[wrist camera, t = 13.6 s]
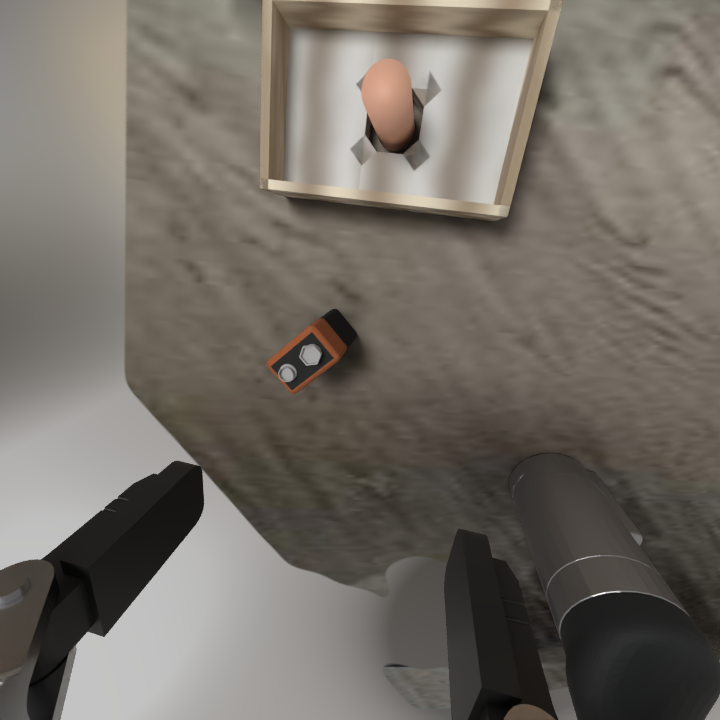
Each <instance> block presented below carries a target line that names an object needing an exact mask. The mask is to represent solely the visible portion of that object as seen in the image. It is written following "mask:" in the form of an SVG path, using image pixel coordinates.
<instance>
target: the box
mask: <svg viewBox="0 0 720 720" xmlns="http://www.w3.org/2000/svg"><path fill="white" fill-rule="evenodd" d="M562 3H563V0H262V75H261V150H260V188H261V189H264V190H267V191H270V192H273V193H276V194H279V195H282V196H285V197H292V198H301V199H309V200H318V201H326V202H334V203H343V204H351V205H360V206H368V207H377V208H385V209H394V210H402V211H411V212H419V213H427V214H436V215H444V216H453V217H461V218H470V219H478V220H487V221H496V220H499V219H502V218H506V217H508V213H509V209H510V206H511V202H512V198H513V194H514V190H515V186H516V182H517V178H518V174H519V171H520V167H521V163H522V159H523V155H524V151H525V147H526V143H527V139H528V135H529V132H530V128H531V124H532V120H533V116H534V112H535V108H536V104H537V100H538V97H539V93H540V89H541V85H542V81H543V77H544V73H545V69H546V65H547V61H548V58H549V54H550V50H551V46H552V42H553V38H554V34H555V30H556V26H557V23H558V19H559V15H560V11H561V7H562ZM383 59H394V60H397V61H399V62H400V63H402V64H403V65H404V66H405V68H406V69H407V71H408V73H409V75H410V79H411V86H412V98H413V100H414V102H415V103H416V105H417V107H418V108H419V110H420V111H421V113H422V114H423V117H422V123H421V130H420V136H419V140H418V141H417V142H416V143H414V144H413V145H412V146H411V147H410V148H409V149H408V150H407V151H406V152H404V153H403V154H396V153H385V152H376V150H375V149H374V147H373V146H372V144H371V143H370V141H369V138H370V129H371V120H370V118H369V116H368V113H367V111H366V109H365V106H364V104H363V101H362V95H361V88H362V83H363V79H364V77H365V75H366V73H367V71H368V70H369V69H370V67H371V66H372V65H373V64H375V63H376V62H378V61H380V60H383Z"/></svg>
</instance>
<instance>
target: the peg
mask: <svg viewBox="0 0 720 720" xmlns="http://www.w3.org/2000/svg"><path fill="white" fill-rule="evenodd" d="M361 95H362V101H363V104H364V106H365V109H366V111H367V113H368V116H369V118H370V120H371V122H372V125H373V127H374V129H375V131H376V134H377V136H378V138H379V141H380V143H381V144H382V145H383V147H385V148H386V149H388V150H390V151H400V150H402V149H404V148H405V147H407V146H408V145H409V143H410V142H411V140H412V138H413V136H414V132H415V122H414V110H413V98H412V86H411V79H410V75H409V73H408V71H407V69H406V68H405V66H404V65H403V64H402V63H400V62H399V61H397V60H394V59H383V60H380V61H378V62H376V63H375V64H373V65H372V66H371V67H370V69H369V70H368V71H367V73H366V75H365V77H364V79H363V83H362V88H361Z"/></svg>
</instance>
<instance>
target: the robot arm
mask: <svg viewBox="0 0 720 720" xmlns="http://www.w3.org/2000/svg"><path fill="white" fill-rule="evenodd" d="M509 490H510V493H511V496H512V500H513V503H514V505H515V508H516V511H517V514H518V517H519V520H520V523H521V526H522V529H523V532H524V534H525V537H526V540H527V543H528V546H529V549H530V552H531V555H532V558H533V561H534V564H535V566H536V569H537V572H538V575H539V578H540V581H541V584H542V587H543V590H544V593H545V595H546V598H547V601H548V604H549V607H550V610H551V613H552V616H553V618H554V621H555V624H556V627H557V630H558V633H559V636H560V639H561V641H562V644H563V647H564V650H565V654H566V677H567V683H568V687H569V692H570V695H571V698H572V702H573V706H574V709H575V712H576V716H577V719H578V720H705V718H706V716H707V715H708V713H709V711H710V710H711V708H712V707H713V705H714V703H715V702H716V701H717V699H718V697H719V694H720V662H719V660H718V657H717V655H716V653H715V652H714V650H713V649H712V647H711V645H710V644H709V642H708V641H707V639H706V638H705V637H704V635H703V634H702V632H701V631H700V630H699V628H698V627H697V625H696V624H695V623H694V621H693V620H692V619H691V617H690V616H689V614H688V613H687V612H686V610H685V609H684V607H683V606H682V605H681V603H680V602H679V600H678V599H677V598H676V596H675V595H674V593H673V592H672V591H671V589H670V588H669V586H668V585H667V584H666V582H665V581H664V580H663V578H662V577H661V575H660V574H659V573H658V571H657V570H656V568H655V567H654V566H653V564H652V563H651V561H650V560H649V559H648V557H647V556H646V554H645V553H644V551H643V550H642V549H641V547H640V545H641V543H642V541H643V537H642V535H641V533H640V532H639V531H638V529H637V528H636V527H635V525H634V524H633V523H632V521H631V520H630V519H629V517H628V516H627V515H626V513H625V512H624V511H623V509H622V508H621V506H620V505H619V504H618V502H617V501H616V500H615V498H614V497H613V496H612V494H611V493H610V492H609V490H608V489H607V488H606V486H605V485H604V484H603V482H602V481H601V480H600V478H599V477H598V476H597V474H596V473H595V472H591V471H588V470H586V469H585V468H584V467H583V466H582V465H581V464H580V463H579V462H577V461H576V460H574V459H573V458H570V457H568V456H565V455H561V454H553V453H546V454H539V455H535V456H532V457H530V458H528V459H526V460H524V461H522V462H521V463H520V464H519V465H517V467H516V468H515V469H514V470H513V472H512V474H511V476H510V480H509ZM203 507H204V494H203V478H202V469H201V467H200V466H197V465H193V464H189V463H185V462H181V461H174V462H172V463H171V464H170V465H169V466H167V467H166V468H165V469H164V470H163V471H162V472H160V473H159V474H158V475H157V474H152V475H150V476H148V477H146V478H144V479H142V480H140V481H138V482H136V483H134V484H133V485H131V486H130V487H129V488H128V489H127V490H125V491H124V492H123V493H122V494H121V495H119V496H118V499H115V500H113V501H112V502H111V503H110V504H109V505H107V506H106V507H105V509H104V510H103V511H100V512H99V513H98V514H96V515H95V516H94V517H93V518H92V519H90V520H89V521H88V522H87V523H85V524H84V525H83V526H82V527H81V528H79V529H78V530H77V531H76V532H75V533H73V534H72V535H71V536H70V537H69V538H67V539H66V540H65V541H64V542H62V543H61V544H60V545H59V546H58V547H57V548H55V549H54V550H53V551H51V552H50V553H49V554H48V555H46V556H45V557H44V558H43V559H41V560H28V561H23V562H20V563H17V564H14V565H11V566H9V567H6V568H4V569H2V570H0V720H60V719H61V714H62V710H63V706H64V701H65V697H66V693H67V689H68V684H69V680H70V676H71V672H72V667H73V663H74V659H75V655H76V644H77V643H78V642H79V641H80V639H81V638H82V637H83V636H84V635H85V634H86V632H87V631H88V632H91V633H94V634H97V635H100V636H103V637H104V636H105V635H106V634H107V633H108V632H109V630H110V629H111V628H112V627H113V625H114V624H115V623H116V622H117V620H118V619H119V618H120V617H121V616H122V614H123V613H124V612H125V611H126V610H127V608H128V607H129V606H130V605H131V603H132V602H133V601H134V600H135V598H136V597H137V596H138V595H139V593H140V592H141V591H142V590H143V589H144V587H145V586H146V585H147V584H148V582H149V581H150V580H151V579H152V578H153V576H154V575H155V574H156V573H157V571H158V570H159V569H160V568H161V567H162V565H163V564H164V563H165V561H166V560H167V559H168V558H169V557H170V556H171V554H172V553H173V552H174V550H175V549H176V548H177V547H178V546H179V544H180V543H181V542H182V541H183V540H184V538H185V537H186V536H187V535H188V533H189V532H190V531H191V530H192V528H193V527H194V526H195V525H196V523H197V522H198V520H199V518H200V516H201V514H202V511H203ZM444 593H445V610H446V626H447V645H448V661H449V680H450V697H451V714H452V720H558V718H557V715H556V713H555V710H554V707H553V705H552V701H551V697H550V694H549V690H548V686H547V683H546V679H545V676H544V672H543V668H542V665H541V661H540V658H539V654H538V650H537V647H536V643H535V640H534V636H533V632H532V629H531V627H530V625H529V623H530V622H529V618H528V614H527V611H526V608H525V607H524V600H523V596H522V593H521V589H520V586H519V582H518V580H517V579H516V577H515V575H514V574H513V572H512V571H511V569H510V568H509V566H508V565H507V563H506V561H503V560H499V559H495V558H492V555H491V550H490V545H489V541H488V538H487V536H486V535H484V534H479V533H475V532H471V531H467V530H463V529H458V531H457V533H456V536H455V540H454V543H453V546H452V550H451V553H450V556H449V560H448V563H447V567H446V572H445V583H444Z"/></svg>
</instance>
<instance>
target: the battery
mask: <svg viewBox="0 0 720 720" xmlns="http://www.w3.org/2000/svg"><path fill="white" fill-rule="evenodd" d="M356 335H357V334H356V332H355V331H354V330H353V329H352V327H351V326H350V325H349V324H348V323H347V321H346V320H345V319H344V318H343V316H342V315H341V314H340V313H339V311H338V310H337V309H332V310H331V311H329V312H328V313H326V314H325V315H324V316H322V317H321V318H319V319H318V320H317V321H315V322H314V323H312V324H311V325H310V326H308V327H307V328H306V329H305V330H303V331H302V332H301V333H300V334H299V335H298V336H296V337H295V338H294V339H293V340H292V341H290V342H289V343H288V344H287V345H286V346H284V347H283V348H282V349H281V350H280V351H279V352H277V353H276V354H275V355H274V356H273V357H271V358H270V359H269V360H268V362H267V366H268V368H269V369H270V370H271V371H272V372H273V373H274V374H275V376H276V377H277V378H278V379H279V380H280V381H281V382H282V384H283V385H284V386H285V387H286V388H287V389H288V390H289V391H290V393H292V394H295V393H297V392H298V391H300V390H301V389H302V388H304V387H305V386H306V385H308V384H309V383H310V382H312V381H313V380H314V379H316V378H317V377H318V376H320V375H321V374H322V373H324V372H325V371H326V370H327V369H329V368H330V367H331V366H333V365H334V364H335V363H337V362H338V361H339V360H340V358H341V357H342V356H343V354H344V353H345V352H346V350H347V349H348V348H349V346H350V345H351V343H352V342H353V341H354V339H355V338H356Z"/></svg>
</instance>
